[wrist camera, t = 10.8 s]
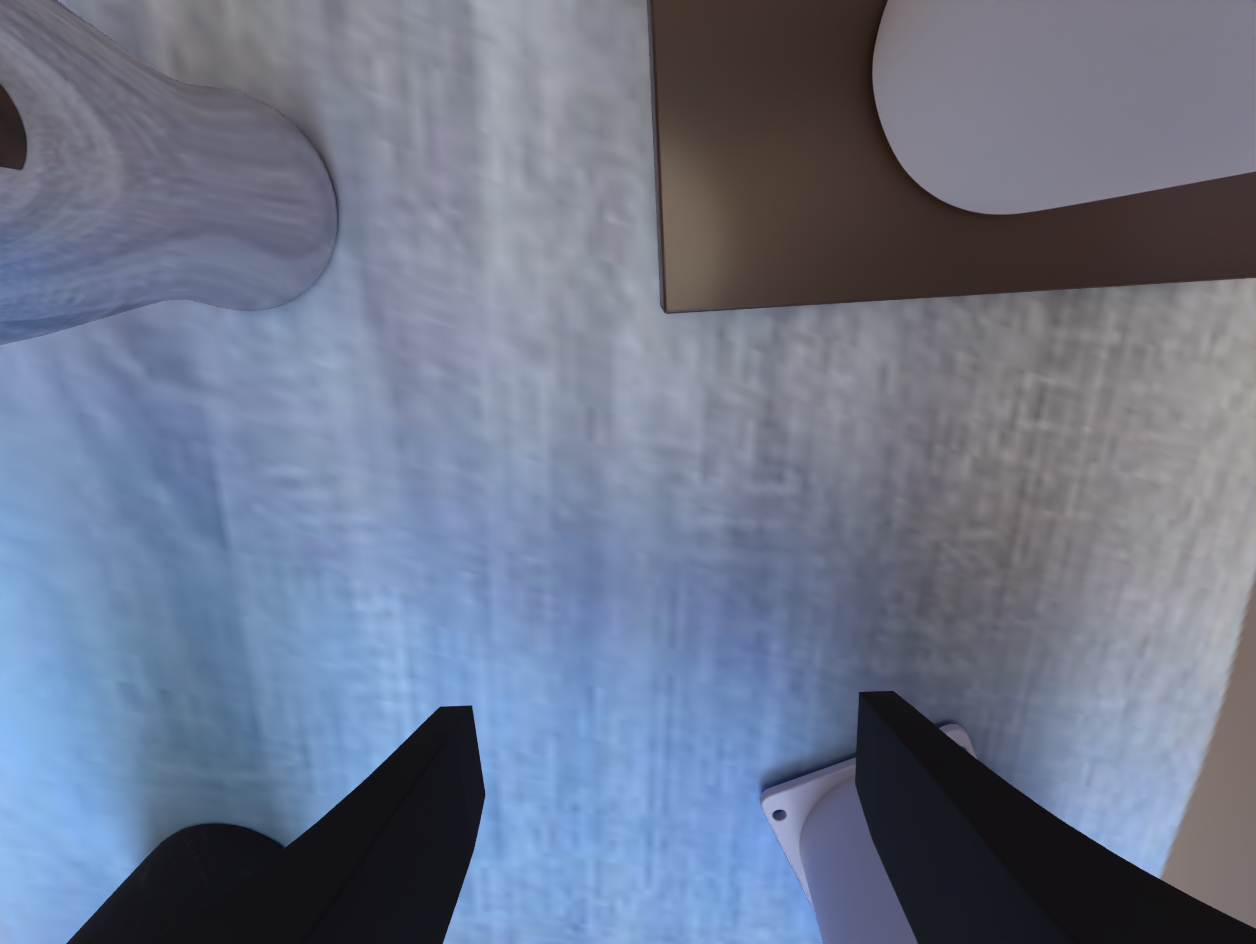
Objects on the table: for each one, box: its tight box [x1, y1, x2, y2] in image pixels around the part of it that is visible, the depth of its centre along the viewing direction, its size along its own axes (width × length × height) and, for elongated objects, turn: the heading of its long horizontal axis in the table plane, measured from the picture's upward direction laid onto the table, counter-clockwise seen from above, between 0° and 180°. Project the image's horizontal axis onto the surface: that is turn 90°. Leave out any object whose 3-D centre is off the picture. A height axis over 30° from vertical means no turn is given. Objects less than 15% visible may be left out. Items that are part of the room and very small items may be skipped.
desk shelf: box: [647, 0, 1256, 314], centre depth 16 cm, size 10×16×5 cm, turn 93°
